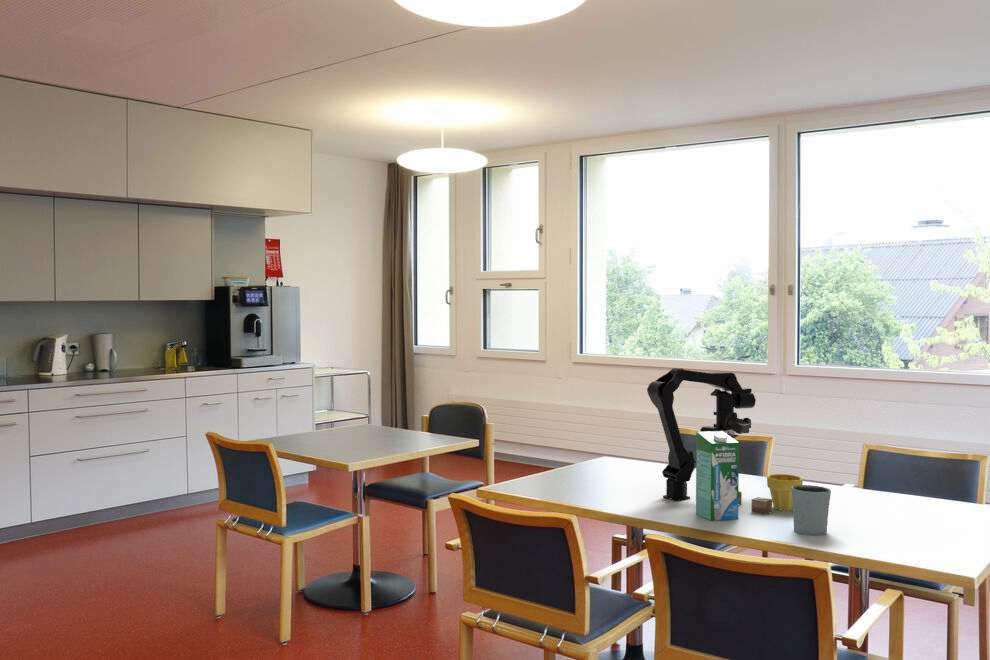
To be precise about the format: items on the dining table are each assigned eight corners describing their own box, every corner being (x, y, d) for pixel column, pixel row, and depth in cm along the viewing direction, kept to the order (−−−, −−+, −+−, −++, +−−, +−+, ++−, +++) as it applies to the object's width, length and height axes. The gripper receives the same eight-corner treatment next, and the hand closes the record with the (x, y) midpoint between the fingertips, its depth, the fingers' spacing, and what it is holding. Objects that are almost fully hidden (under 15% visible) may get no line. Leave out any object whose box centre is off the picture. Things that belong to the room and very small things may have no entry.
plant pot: (778, 512, 247) (778, 480, 247) (760, 505, 257) (760, 474, 257) (809, 511, 249) (809, 479, 249) (790, 503, 259) (790, 473, 259)
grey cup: (784, 531, 226) (785, 488, 225) (801, 524, 233) (801, 483, 232) (820, 538, 218) (821, 493, 218) (836, 531, 225) (837, 488, 225)
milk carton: (711, 521, 237) (711, 435, 236) (695, 513, 245) (696, 431, 245) (738, 519, 239) (739, 434, 239) (722, 512, 248) (722, 430, 247)
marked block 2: (765, 514, 245) (765, 500, 245) (751, 512, 248) (751, 498, 248) (772, 512, 248) (772, 498, 248) (758, 509, 251) (758, 496, 251)
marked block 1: (728, 505, 257) (728, 492, 257) (721, 502, 261) (721, 489, 261) (741, 504, 258) (741, 491, 258) (733, 501, 263) (733, 488, 263)
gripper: (726, 413, 261) (726, 461, 261) (762, 409, 272) (762, 456, 272) (699, 410, 270) (699, 457, 270) (735, 406, 281) (735, 451, 281)
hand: (724, 455), depth 273 cm, fingers closed
